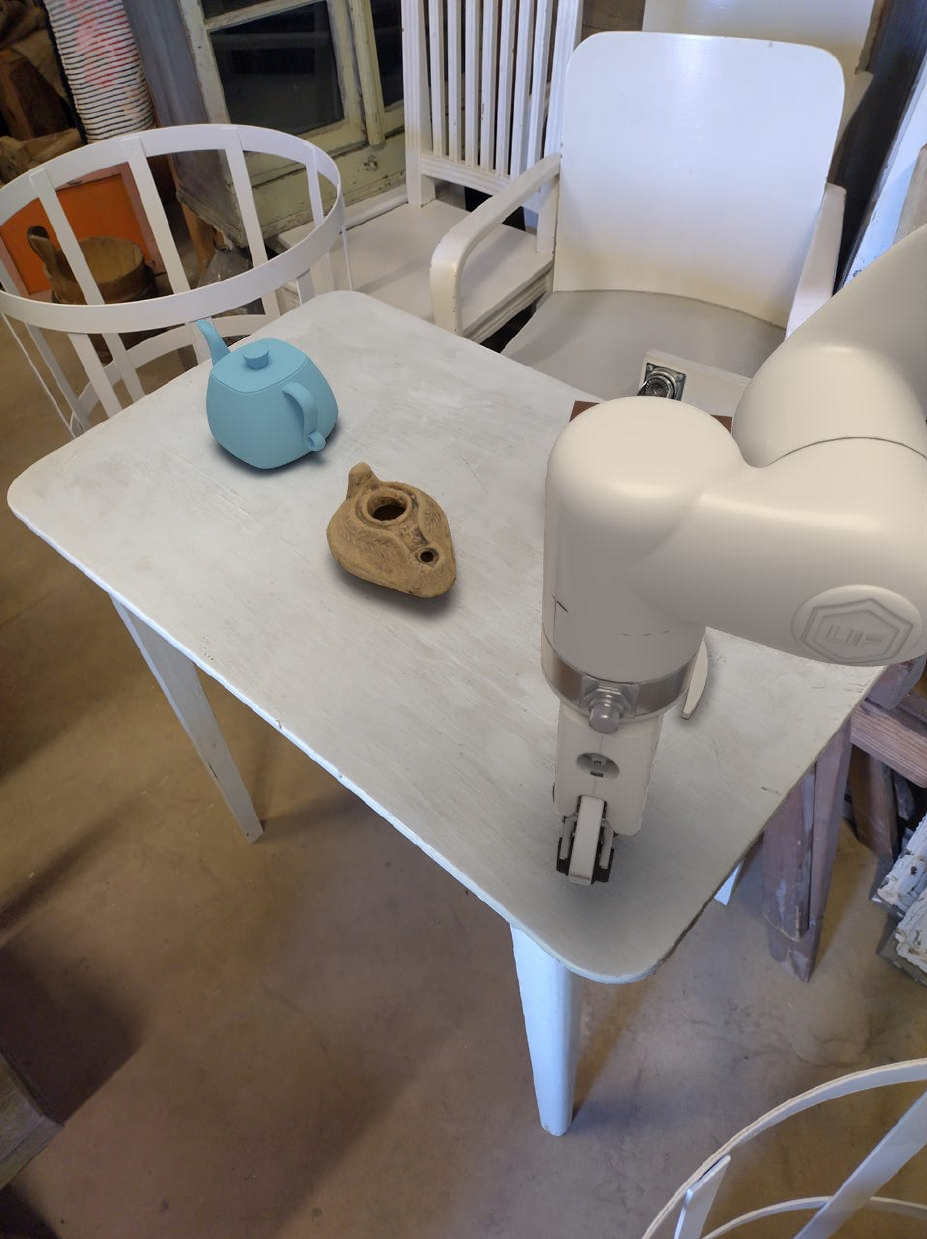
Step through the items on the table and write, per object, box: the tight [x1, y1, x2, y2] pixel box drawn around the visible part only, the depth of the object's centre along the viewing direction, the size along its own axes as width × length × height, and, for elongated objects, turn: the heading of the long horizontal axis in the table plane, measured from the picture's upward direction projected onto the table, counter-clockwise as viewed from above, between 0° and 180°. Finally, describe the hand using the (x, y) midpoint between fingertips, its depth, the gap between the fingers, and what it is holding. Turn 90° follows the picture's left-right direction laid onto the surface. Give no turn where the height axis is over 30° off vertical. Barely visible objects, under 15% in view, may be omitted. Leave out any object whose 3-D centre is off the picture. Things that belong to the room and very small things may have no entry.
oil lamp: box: [325, 461, 457, 598], centre depth 72 cm, size 11×15×8 cm
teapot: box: [196, 318, 339, 470], centre depth 85 cm, size 13×11×18 cm
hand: (594, 803), depth 53 cm, fingers open, 9 cm apart
